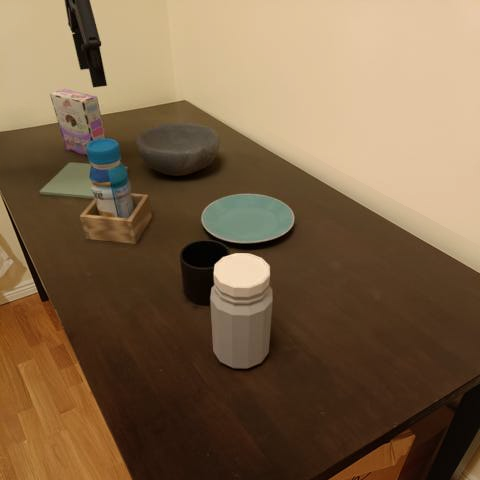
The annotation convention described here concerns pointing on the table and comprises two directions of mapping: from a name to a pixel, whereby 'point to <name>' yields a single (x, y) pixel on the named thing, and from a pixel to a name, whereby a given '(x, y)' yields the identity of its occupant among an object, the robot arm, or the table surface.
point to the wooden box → (117, 222)
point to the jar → (241, 310)
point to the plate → (247, 218)
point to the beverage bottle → (109, 179)
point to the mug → (200, 268)
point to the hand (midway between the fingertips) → (93, 77)
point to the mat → (71, 182)
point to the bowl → (178, 147)
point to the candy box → (78, 119)
